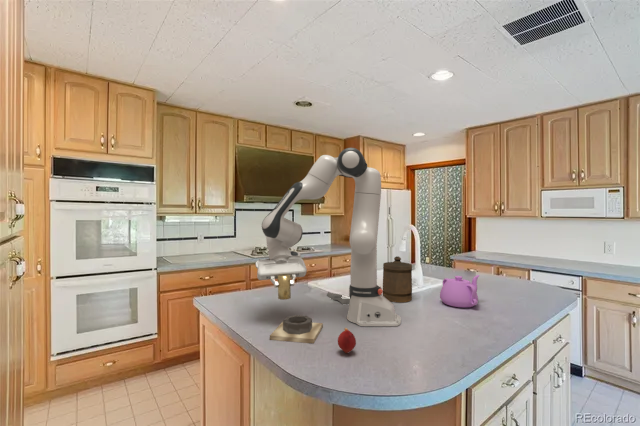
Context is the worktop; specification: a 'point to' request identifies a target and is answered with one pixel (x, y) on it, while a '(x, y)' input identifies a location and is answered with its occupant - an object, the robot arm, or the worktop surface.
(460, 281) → the teapot
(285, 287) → the brass cylinder peg
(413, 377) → the worktop surface
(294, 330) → the jig board
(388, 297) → the wooden container
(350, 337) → the onion
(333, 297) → the cloth
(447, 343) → the worktop surface
